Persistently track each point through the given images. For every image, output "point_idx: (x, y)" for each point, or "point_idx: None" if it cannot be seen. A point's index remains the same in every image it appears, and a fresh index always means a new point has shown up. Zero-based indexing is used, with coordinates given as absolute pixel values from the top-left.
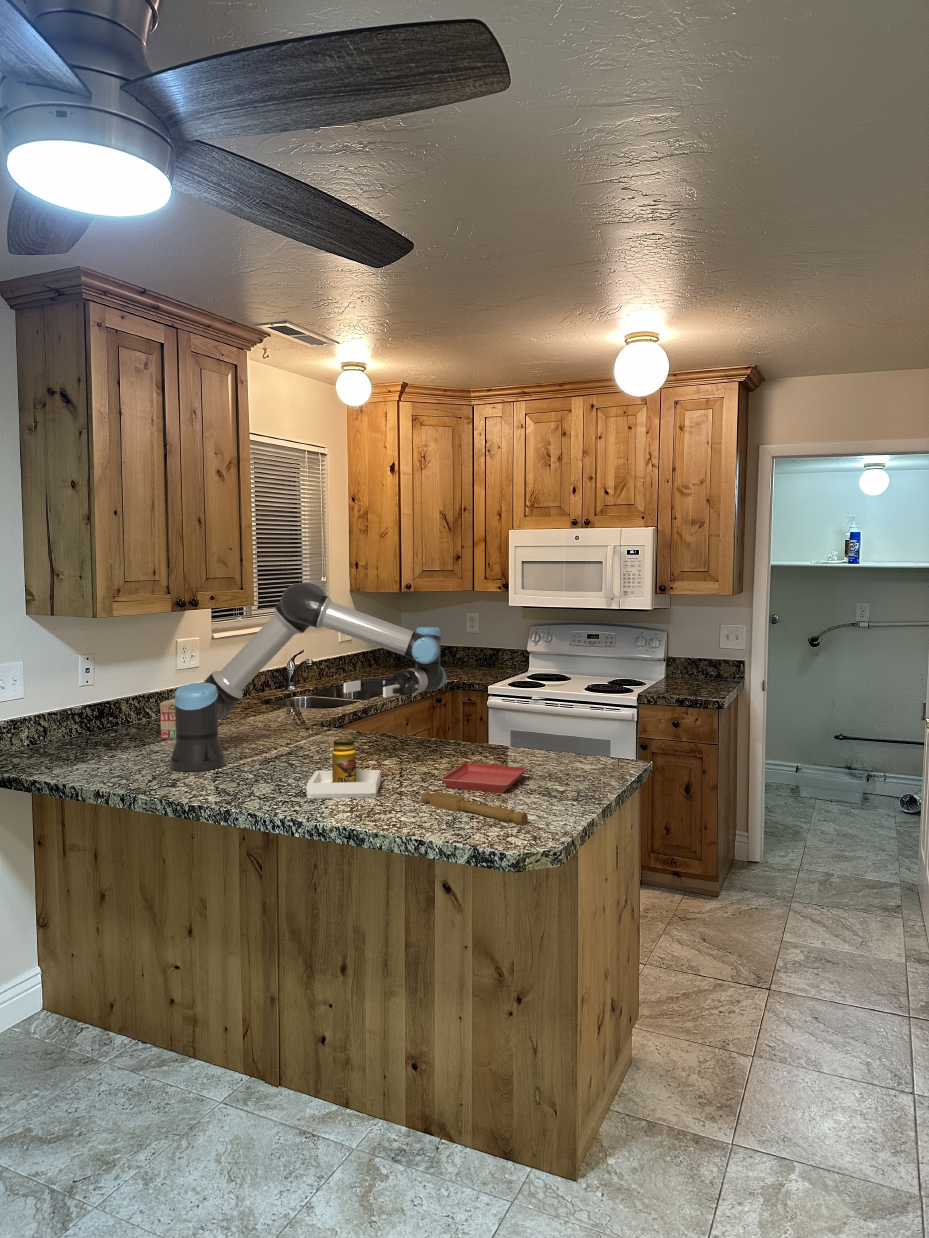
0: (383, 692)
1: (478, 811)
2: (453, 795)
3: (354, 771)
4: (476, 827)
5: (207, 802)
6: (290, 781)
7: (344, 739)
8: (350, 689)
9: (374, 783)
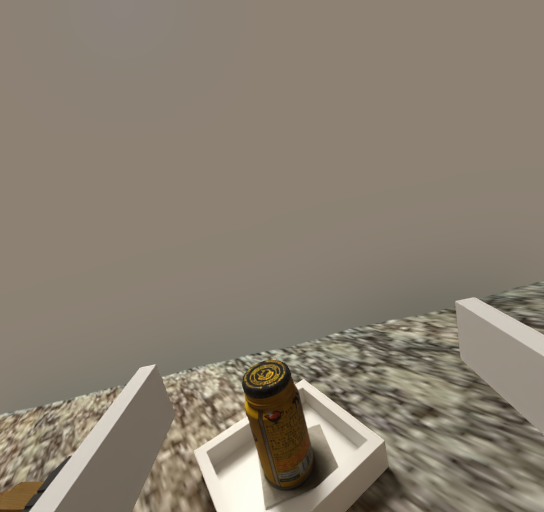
0: (163, 391)
1: None
2: (16, 504)
3: (254, 441)
4: (14, 454)
5: (390, 328)
6: (451, 443)
7: (271, 380)
8: (498, 376)
9: (196, 449)
